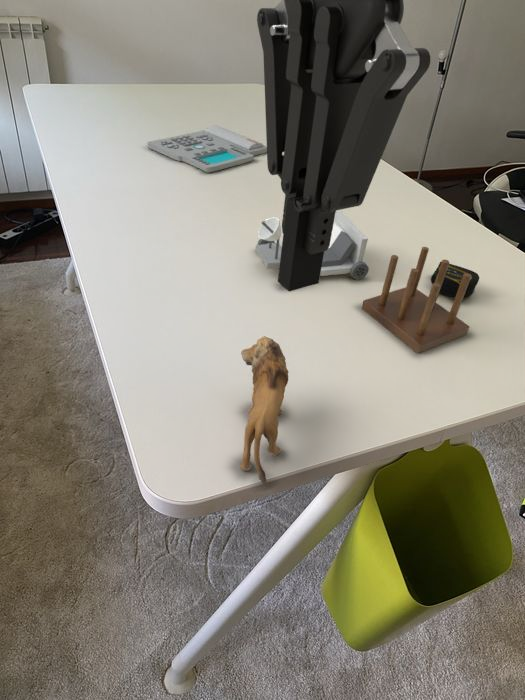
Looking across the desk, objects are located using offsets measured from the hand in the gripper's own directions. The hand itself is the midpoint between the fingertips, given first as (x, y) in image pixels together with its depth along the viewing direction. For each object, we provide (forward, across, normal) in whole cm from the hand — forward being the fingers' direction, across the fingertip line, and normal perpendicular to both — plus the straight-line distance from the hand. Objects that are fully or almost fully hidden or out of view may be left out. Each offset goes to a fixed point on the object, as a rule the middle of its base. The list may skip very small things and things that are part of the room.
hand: (298, 282), depth 41 cm
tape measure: (+25, -19, +47) cm, 56 cm away
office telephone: (+25, -88, +40) cm, 100 cm away
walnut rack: (+24, -15, +35) cm, 45 cm away
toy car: (+25, -35, +29) cm, 52 cm away
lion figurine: (+25, -7, +3) cm, 26 cm away
